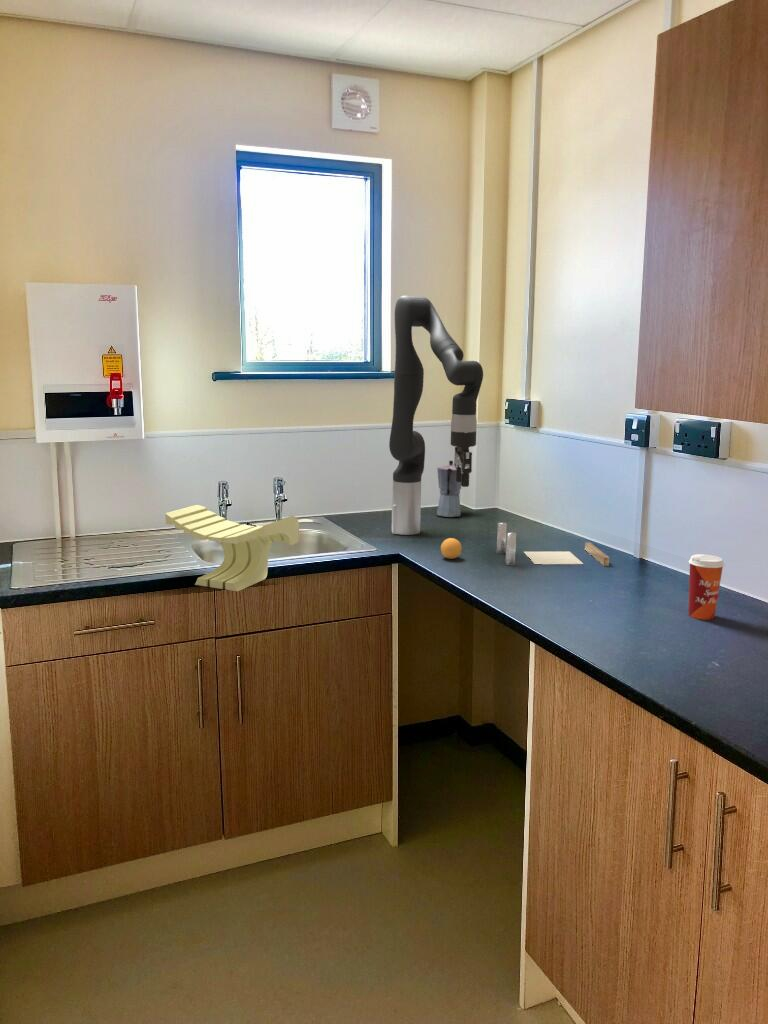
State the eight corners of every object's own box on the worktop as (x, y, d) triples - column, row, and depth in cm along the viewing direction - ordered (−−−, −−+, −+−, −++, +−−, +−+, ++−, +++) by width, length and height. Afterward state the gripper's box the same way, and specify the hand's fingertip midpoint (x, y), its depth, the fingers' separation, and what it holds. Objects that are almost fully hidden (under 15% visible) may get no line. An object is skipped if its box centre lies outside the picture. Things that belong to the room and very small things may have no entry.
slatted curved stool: (299, 579, 218) (298, 513, 215) (266, 596, 204) (265, 525, 201) (205, 565, 231) (203, 502, 227) (168, 580, 216) (165, 513, 213)
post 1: (497, 553, 248) (498, 524, 246) (495, 551, 250) (496, 522, 249) (506, 553, 248) (507, 524, 246) (504, 551, 251) (505, 522, 249)
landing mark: (534, 564, 236) (534, 563, 236) (523, 552, 250) (523, 551, 250) (583, 564, 237) (583, 563, 237) (569, 552, 251) (569, 551, 251)
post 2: (506, 565, 235) (508, 534, 233) (504, 563, 238) (506, 532, 236) (515, 565, 235) (517, 534, 233) (513, 562, 238) (515, 532, 236)
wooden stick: (603, 566, 236) (604, 557, 235) (584, 550, 253) (585, 542, 253) (608, 566, 236) (609, 557, 235) (589, 550, 253) (590, 542, 253)
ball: (442, 561, 239) (442, 540, 237) (439, 555, 245) (439, 536, 243) (462, 561, 239) (463, 540, 238) (459, 555, 245) (460, 536, 244)
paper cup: (701, 623, 188) (706, 563, 186) (676, 613, 195) (681, 555, 192) (727, 619, 191) (733, 560, 189) (702, 609, 198) (707, 552, 196)
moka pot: (462, 512, 308) (464, 458, 304) (462, 520, 293) (464, 464, 289) (436, 511, 309) (438, 457, 305) (435, 520, 294) (436, 463, 290)
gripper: (446, 427, 252) (445, 480, 255) (455, 432, 238) (454, 488, 241) (471, 427, 252) (469, 480, 256) (481, 432, 238) (479, 488, 242)
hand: (462, 484), depth 248 cm, fingers open, 8 cm apart
